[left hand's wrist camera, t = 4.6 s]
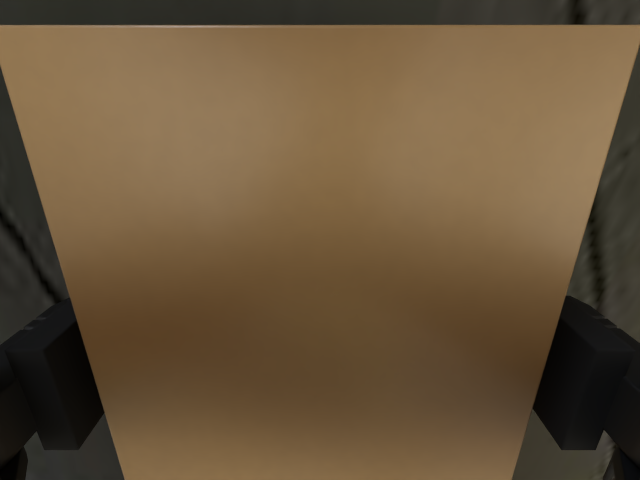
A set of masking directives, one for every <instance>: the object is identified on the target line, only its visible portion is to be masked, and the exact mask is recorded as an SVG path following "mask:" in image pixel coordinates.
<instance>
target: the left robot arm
mask: <svg viewBox="0 0 640 480" xmlns="http://www.w3.org/2000/svg"><path fill="white" fill-rule="evenodd" d="M533 409H534V411H535V412H536V414H537V415H538V417H539V418H540V420H541V421H542V422H543V424H544V425H545V427H546V428H547V430H548V431H549V432H550V434H551V435H552V437H553V438H554V440H555V441H556V443H557V444H558V445H559V447H560V448H561V450H596V448H597V445H598V443H599V440H600V438H601V435H602V433H603V430H605V431H606V432H607V433H608V435H609V436H610V437H611V438H612V439H613V440H614V442H615V443H616V444H617V446H616V449H615V451H614V453H613V456H612V458H611V460H610V462H609V465H608V467H607V469H606V472H605V474H604V476H603V480H611V479H613V478H615V480H640V343H639V342H637V341H636V340H635V339H633V338H632V337H631V336H629V335H628V334H627V333H625V332H624V331H623V330H621V329H617V326H616V325H615V324H613V323H612V322H611V321H609V320H608V319H604V316H603V315H601V314H600V313H599V312H597V311H596V310H595V309H594V308H592V307H591V306H590V305H588V304H586V303H583V302H581V301H579V300H577V299H575V298H573V297H571V296H565V300H564V303H563V307H562V310H561V313H560V317H559V320H558V323H557V327H556V330H555V334H554V337H553V340H552V344H551V347H550V351H549V354H548V357H547V361H546V364H545V368H544V371H543V374H542V378H541V381H540V385H539V388H538V391H537V395H536V398H535V402H534V405H533ZM103 414H104V409H103V405H102V402H101V399H100V395H99V392H98V389H97V385H96V382H95V379H94V375H93V372H92V369H91V365H90V362H89V359H88V355H87V352H86V349H85V345H84V342H83V339H82V336H81V332H80V329H79V326H78V322H77V319H76V316H75V312H74V309H73V306H72V302H71V299H70V298H68V299H66V300H64V301H62V302H60V303H58V304H55V305H53V306H51V307H50V308H49V309H47V310H46V311H45V312H43V313H42V314H41V315H39V316H38V317H37V318H36V320H33V321H32V322H30V323H29V324H28V325H26V326H25V327H24V330H20V331H18V332H17V333H16V334H14V335H13V336H12V337H11V338H9V339H8V340H7V341H5V342H4V343H3V344H1V345H0V480H25V477H26V470H27V463H28V459H27V453H26V451H25V449H24V445H25V444H26V443H27V441H28V440H29V439H30V438H31V437H32V436H33V434H34V433H35V432H36V431H37V433H38V435H39V438H40V440H41V443H42V445H43V448H44V450H79V448H80V447H81V445H82V444H83V443H84V441H85V440H86V438H87V437H88V435H89V434H90V432H91V431H92V430H93V428H94V427H95V425H96V424H97V422H98V421H99V420H100V418H101V417H102V415H103Z"/></svg>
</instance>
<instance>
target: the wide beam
mask: <svg viewBox="0 0 640 480" xmlns="http://www.w3.org/2000/svg"><path fill="white" fill-rule="evenodd" d="M639 45H640V25H0V66H1V69H2V73H3V76H4V79H5V83H6V86H7V89H8V93H9V96H10V99H11V103H12V106H13V109H14V113H15V116H16V119H17V123H18V126H19V129H20V133H21V136H22V139H23V143H24V146H25V149H26V153H27V156H28V159H29V162H30V166H31V169H32V172H33V176H34V179H35V182H36V186H37V189H38V192H39V196H40V199H41V202H42V206H43V209H44V212H45V216H46V219H47V222H48V226H49V229H50V232H51V236H52V239H53V242H54V246H55V249H56V252H57V256H58V259H59V262H60V266H61V269H62V272H63V276H64V279H65V282H66V286H67V289H68V292H69V296H70V299H71V302H72V306H73V309H74V312H75V316H76V319H77V322H78V326H79V329H80V332H81V336H82V339H83V342H84V345H85V349H86V352H87V355H88V359H89V362H90V365H91V369H92V372H93V375H94V379H95V382H96V385H97V389H98V392H99V395H100V399H101V402H102V405H103V409H104V412H105V415H106V419H107V422H108V425H109V429H110V432H111V435H112V439H113V442H114V445H115V449H116V452H117V455H118V459H119V462H120V465H121V469H122V472H123V475H124V479H125V480H512V476H513V473H514V469H515V466H516V463H517V459H518V456H519V452H520V449H521V446H522V442H523V439H524V435H525V432H526V429H527V425H528V422H529V418H530V415H531V412H532V408H533V405H534V402H535V398H536V395H537V391H538V388H539V385H540V381H541V378H542V374H543V371H544V368H545V364H546V361H547V357H548V354H549V351H550V347H551V344H552V340H553V337H554V334H555V330H556V327H557V323H558V320H559V317H560V313H561V310H562V307H563V303H564V300H565V296H566V293H567V290H568V286H569V283H570V279H571V276H572V273H573V269H574V266H575V262H576V259H577V256H578V252H579V249H580V245H581V242H582V239H583V235H584V232H585V228H586V225H587V222H588V218H589V215H590V212H591V208H592V205H593V201H594V198H595V195H596V191H597V188H598V184H599V181H600V178H601V174H602V171H603V167H604V164H605V161H606V157H607V154H608V150H609V147H610V144H611V140H612V137H613V133H614V130H615V127H616V123H617V120H618V117H619V113H620V110H621V106H622V103H623V100H624V96H625V93H626V89H627V86H628V83H629V79H630V76H631V72H632V69H633V66H634V62H635V59H636V55H637V52H638V49H639Z"/></svg>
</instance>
